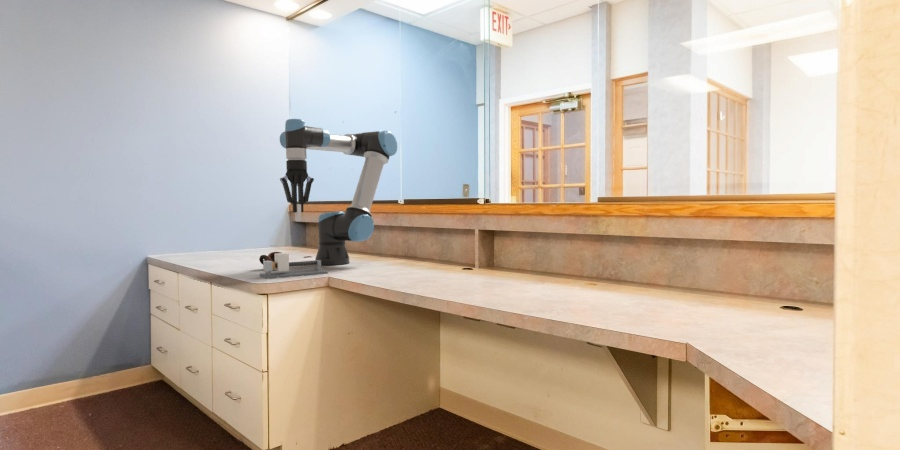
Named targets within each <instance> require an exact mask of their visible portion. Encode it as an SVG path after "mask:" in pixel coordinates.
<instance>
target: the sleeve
mask: <svg viewBox="0 0 900 450" xmlns="http://www.w3.org/2000/svg"><path fill="white" fill-rule="evenodd" d="M274 256H275V263H277V266H278V267H277V268H275V269H274V271H275V272H285V271H290V267H289V262H290V254H289V253H288V252H287V253H286V252H281V253H276V254H274Z"/></svg>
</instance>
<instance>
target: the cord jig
mask: <svg viewBox="0 0 900 450" xmlns="http://www.w3.org/2000/svg"><path fill="white" fill-rule="evenodd" d="M262 265H263V267H262V268H263V273H259V276H260V277H263V278H264V277H265V279H267V278H270V279H278V278H277V277H281V278H289V276H293V277H302V276H301V275H304V276H314V275H315V274H316V275H326V274H328V273H329V271H328V270H324V269H322V265H321V260H315V259H314V260H304V261H289V268H290V267H301V266H303V267H305V266H313V265H314V268H313V269H312V268H310V269H301V270H289V271H275V268H277V267H278V266H277V263H274V262H273V261H263V264H262ZM273 271H274V272H273Z"/></svg>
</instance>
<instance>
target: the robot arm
mask: <svg viewBox="0 0 900 450" xmlns="http://www.w3.org/2000/svg"><path fill="white" fill-rule="evenodd" d="M284 125H285V127H284V128H285V129H284V131H283V132H281V134H280V135H279V144H280V146H281V147H283V149H285V153H286V154H285V159H287V160H286V161H285V162H286V173H285V175H284V176H283V177H280V178H279V180H280V183H281V184H282V187H283V191H284V194H285V198H286V201H287V203H290V204H292V205H291V206H292V212H293V213H294V219H295V220H294V221H295V222H302V221H303V220H302V213H304V204H305V203H308V202H309V197H310V192H311V188H312V185H313V182H314V180H315V179H314V178H313V177H311V176H309V174H308V165H307V163H308V162H307V160H306V159H307V150H310V151H321V152H322V151H325V152H336V153H343V154H344V155H348V156H354V157H361V158H365V159H364V162H363V165H362V170H361V173H360V176H359V180H358V183H357V185H356V188H355V192H354V195H353V198H352V201H351V204H350V205H349V206H347V207H346V209H345V211H331V212H330V211H329V212H324V213H321V214H319V215H318V223H317V226H318V249H317V253H316V255H315V259H314V261H315V260H321V266H334V265H335V266H336V265H337V266H338V265H339V266H340V265H346V264H349V263H350V256H349V253H348V251H347V250H348V249H347V247H346V242H356V243H359V242H364V241H367V240H368V239H369V238H370V237H371V236H372V235H373V233H374V229H375V224H374V219H373V218H372V217H373V214H372V213H371V209H372V204H373V203H374V198H375V194H376V191H377V188H378V185H379V182H380V179H381V174H382V171H383V168H384V165H386V164H388V163H389V160H390V157H392V156H394V155H396V153H397V151H398V142H397V139H396V136H395V135H394V134H393V132H391V131H389V130H381V129H380V130H377V131H376V130H375V131H368V132H367V131H366V132H361V133H360V132H359V133H352V134H351V133H345V134H344V135H341V134H331V133H330V132H329V130H328V129H326V128H322V127H313V126H307V124H306V121H305V120H304V119H300V118H289V119H286V120H285V124H284ZM288 181H289V183H290V187H291V191H290V187H289V183H288ZM305 182H306V184H305V185H304V183H305ZM304 186H305V188H304Z"/></svg>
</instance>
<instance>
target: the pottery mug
mask: <svg viewBox="0 0 900 450" xmlns="http://www.w3.org/2000/svg"><path fill="white" fill-rule="evenodd" d="M276 253H282V252H280V251H272V252H270V253H268V255H266V254H261V255H260V256H259V258H258V261H259V263H260V264H261V265H263V261H273V262H274V263H275V256H274V254H276Z"/></svg>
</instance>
